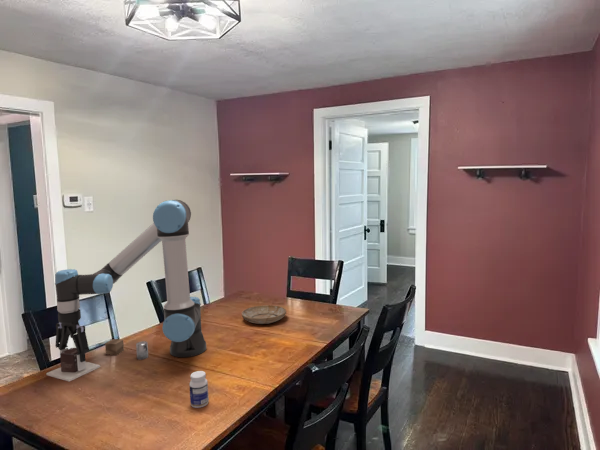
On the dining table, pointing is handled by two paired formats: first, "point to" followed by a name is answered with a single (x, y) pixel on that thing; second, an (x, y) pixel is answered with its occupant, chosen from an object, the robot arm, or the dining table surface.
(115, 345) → the walnut cube
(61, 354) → the box
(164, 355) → the dining table surface
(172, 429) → the dining table surface
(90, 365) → the plate
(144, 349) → the grey tin
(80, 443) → the dining table surface
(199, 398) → the pill bottle
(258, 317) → the ceramic bowl
